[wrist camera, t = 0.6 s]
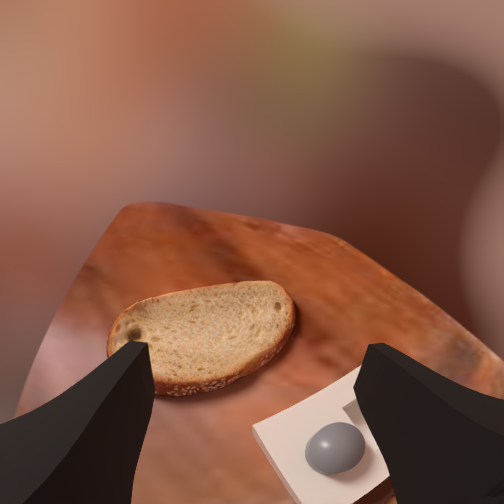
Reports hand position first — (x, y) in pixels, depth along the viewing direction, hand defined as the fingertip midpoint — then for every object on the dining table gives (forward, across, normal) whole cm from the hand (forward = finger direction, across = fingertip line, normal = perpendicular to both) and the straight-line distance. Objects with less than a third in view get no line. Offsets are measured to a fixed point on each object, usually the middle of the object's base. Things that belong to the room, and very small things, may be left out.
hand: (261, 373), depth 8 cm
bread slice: (+18, +3, +11) cm, 22 cm away
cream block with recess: (+6, -10, +14) cm, 19 cm away
